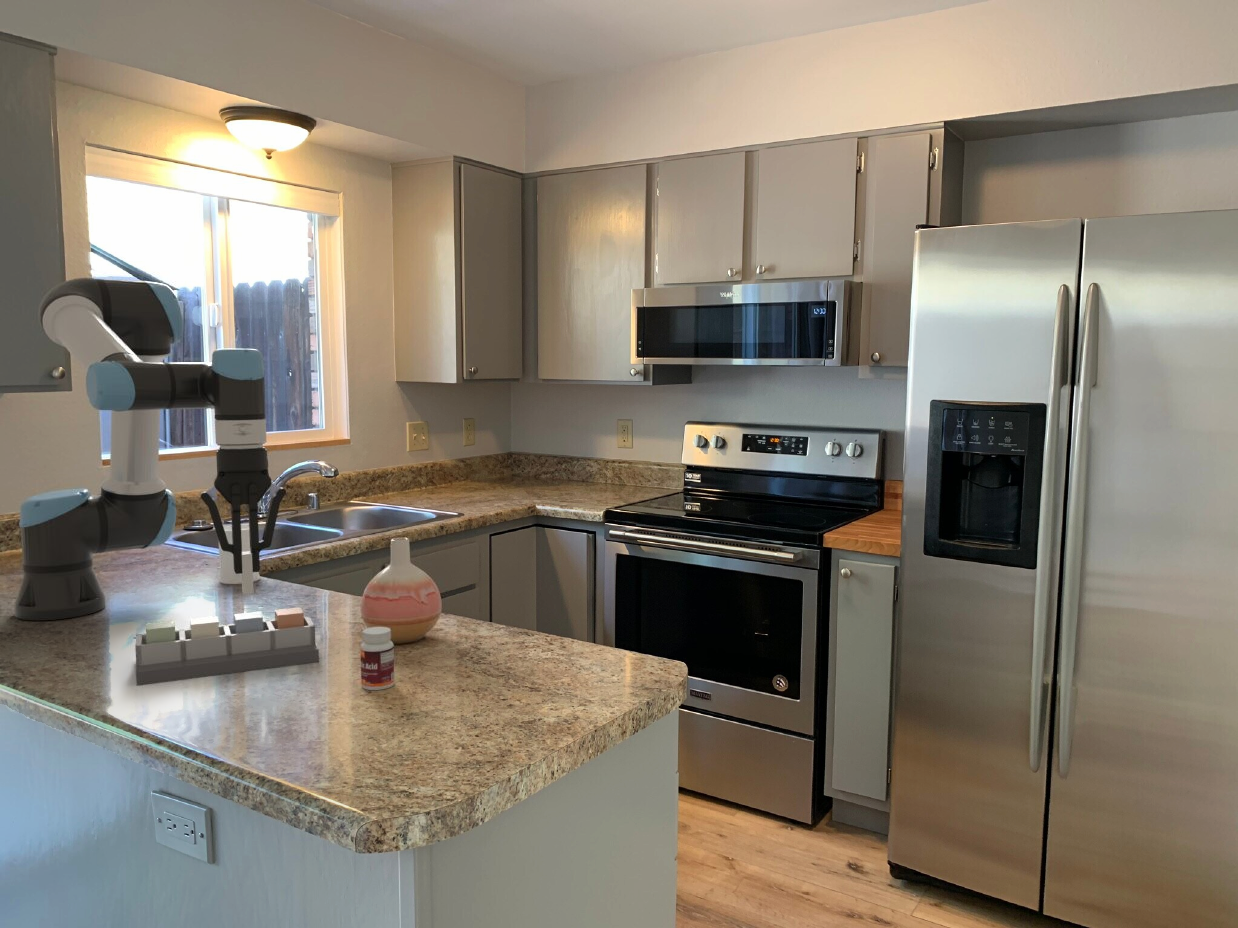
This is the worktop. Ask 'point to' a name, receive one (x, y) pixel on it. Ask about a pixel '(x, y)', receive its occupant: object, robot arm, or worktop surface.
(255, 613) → the key slate
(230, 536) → the mug
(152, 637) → the key sage
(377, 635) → the pill bottle
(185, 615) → the worktop surface
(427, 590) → the vase
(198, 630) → the key cream
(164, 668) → the grey slotted tray
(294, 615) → the key rust
